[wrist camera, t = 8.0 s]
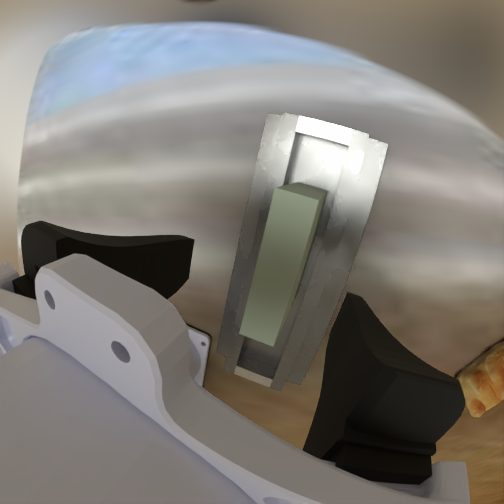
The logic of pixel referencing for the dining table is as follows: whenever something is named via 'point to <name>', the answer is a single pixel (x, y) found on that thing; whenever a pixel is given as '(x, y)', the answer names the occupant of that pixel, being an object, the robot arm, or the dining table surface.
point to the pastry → (484, 380)
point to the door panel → (282, 259)
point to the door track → (323, 248)
